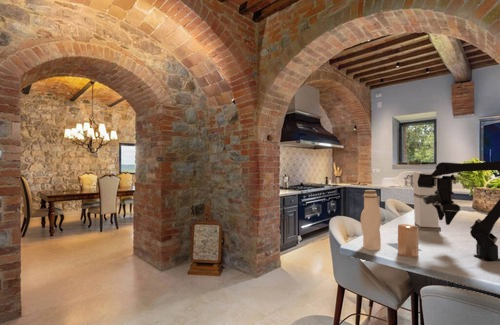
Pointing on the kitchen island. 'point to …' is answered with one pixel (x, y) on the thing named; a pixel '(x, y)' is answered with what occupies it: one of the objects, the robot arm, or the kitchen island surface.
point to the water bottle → (371, 221)
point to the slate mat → (397, 245)
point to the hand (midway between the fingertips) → (444, 222)
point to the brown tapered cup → (408, 240)
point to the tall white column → (424, 206)
